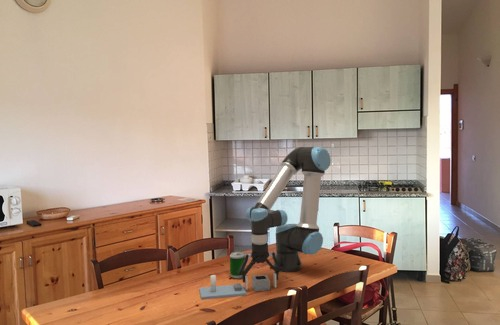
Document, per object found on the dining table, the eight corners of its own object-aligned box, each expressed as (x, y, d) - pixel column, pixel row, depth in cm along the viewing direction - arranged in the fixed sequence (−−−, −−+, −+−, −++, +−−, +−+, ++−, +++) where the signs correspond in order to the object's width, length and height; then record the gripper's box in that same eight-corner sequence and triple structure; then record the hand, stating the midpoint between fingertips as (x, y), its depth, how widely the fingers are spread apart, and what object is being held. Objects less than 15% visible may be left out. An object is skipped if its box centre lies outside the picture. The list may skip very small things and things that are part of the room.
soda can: (243, 279, 209) (242, 255, 208) (228, 278, 211) (228, 255, 210) (246, 274, 216) (246, 251, 216) (232, 273, 218) (231, 250, 217)
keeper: (242, 286, 200) (241, 269, 199) (246, 295, 188) (246, 277, 187) (199, 289, 196) (199, 272, 196) (201, 299, 184) (200, 281, 184)
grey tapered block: (266, 285, 200) (266, 274, 200) (270, 290, 193) (269, 279, 193) (252, 286, 199) (251, 275, 199) (254, 291, 192) (254, 280, 192)
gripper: (284, 239, 201) (284, 283, 202) (231, 242, 196) (232, 287, 198) (288, 242, 193) (288, 288, 195) (234, 246, 189) (235, 293, 190)
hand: (260, 288), depth 196 cm, fingers open, 13 cm apart
